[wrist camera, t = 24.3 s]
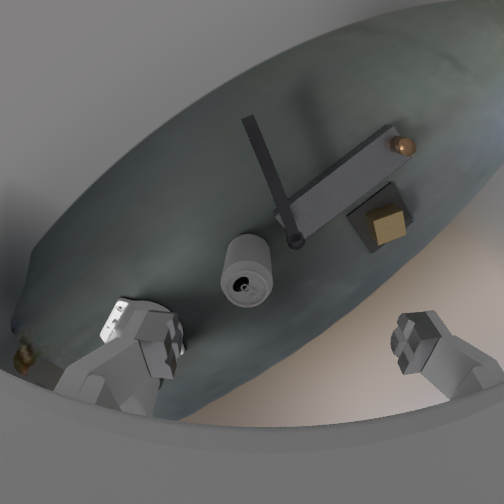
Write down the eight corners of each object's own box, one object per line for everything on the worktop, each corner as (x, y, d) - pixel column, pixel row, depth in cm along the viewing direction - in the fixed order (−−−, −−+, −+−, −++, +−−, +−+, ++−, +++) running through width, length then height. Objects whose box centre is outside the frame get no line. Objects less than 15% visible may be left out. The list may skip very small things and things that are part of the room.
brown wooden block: (370, 235, 47) (378, 245, 44) (365, 213, 46) (373, 221, 42) (396, 225, 46) (406, 234, 43) (392, 203, 45) (402, 210, 41)
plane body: (295, 236, 48) (301, 256, 42) (273, 210, 46) (276, 227, 40) (405, 152, 41) (427, 160, 34) (387, 123, 39) (408, 126, 33)
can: (244, 223, 48) (241, 256, 37) (279, 248, 49) (285, 287, 39) (218, 254, 50) (208, 293, 39) (252, 277, 52) (250, 320, 41)
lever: (305, 242, 41) (306, 246, 40) (289, 248, 41) (290, 251, 40) (256, 113, 33) (256, 113, 32) (238, 120, 33) (237, 120, 32)
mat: (370, 252, 49) (371, 253, 49) (346, 215, 46) (346, 217, 46) (411, 220, 46) (413, 221, 46) (390, 181, 43) (391, 182, 43)
